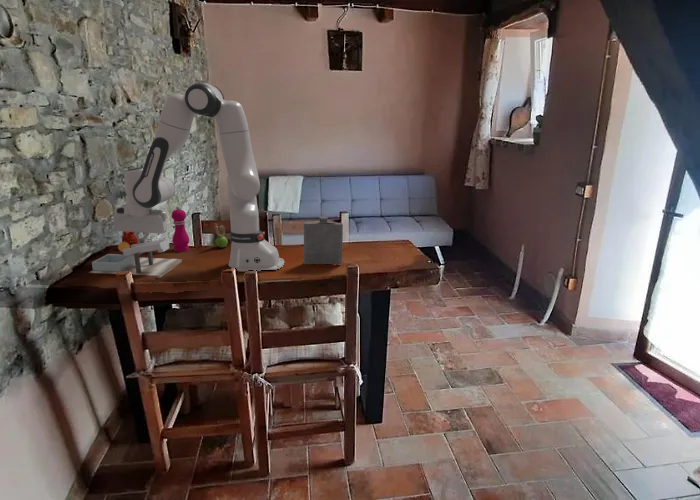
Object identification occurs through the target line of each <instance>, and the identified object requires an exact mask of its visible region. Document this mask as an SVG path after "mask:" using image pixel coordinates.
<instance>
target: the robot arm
mask: <svg viewBox="0 0 700 500" xmlns="http://www.w3.org/2000/svg"><path fill="white" fill-rule="evenodd" d="M197 115H199V116H202V117H203V116H204V117H208V118H214V120H215V122H216V124H217V125H216V126H217V129H218V130H217V131H218V134H219V141H220V147H221V151H222V155H223V160H224V163H225V167H226V172H227V176H226V185H227V195H228V196H227V197H228V206H229V221H230V232H229V241H230V256H229V261H228V266H229V267H230V268H232V269H234V268H236V269H237V270H236V269H235V270H236V271H237V272H249V271H248V270H257V271H256V272H262V271H261V270H276V271H278V270H277V269H279V270H280V268H281V267H282V268H283V267H284V266H283V265H285V264H284V263H285V259H284V258H281V257H280V255H279V251H278V249H277V248H276V247H277V246H276V247H275V246H274V245H272V243H270V242H268V241H267V240H266V239H265V231H262V230H261V229H260V217H259V216H260V215H259V208H258V206H259V205H258V199H257V196H258V194H259V192H260V189H261V182H260V176H259V173H258V167H257V163H256V160H255V155H254V151H253V147H252V140H251V135H250V134H251V133H250V128H249V123H248V120H247V117H246V113H245V111H244V108H243V105H242V104H241V103H240V102H238V101H236V100H226V99H225V96H224V94H223V92H222V90H220V89H219V88H218V86H215V85H212V84H210V83H206V82H201V83H200V82H197V83H194V84H191V85H190V86H189V87H188V88H186V91H185V93H184V94H180V93H172V94H170V95H168V96H167V98H166V100H165V101H164V105H163V106H162V109H161V113H160V116H159V121H158V123H157V124H158V125H157V128H156V131H155V134H154V137H153V140H152V143H151V145H150V148H149V150H148V153H147V154H146V155H147V156H146V159H145V162H144V164H143V165H144V166H142V167H135V168H134V167H133V168H129V169H127V170H126V171H125V172H124V191H125V193H126V194H125V195H126V200H125V202H126V204H123V205H120V206H117V207H116V208H114V210H113V211H114V217H113V228H114V230H115V231H117V232H124V231H126V232H134V235H135V236H136V238H137V239H138V243H145V242H147V241H148V236H149V235H150V234H162V235H163V234H165V233H167V231H168V224H167V214H166V212H165V211H163V210H161V209H152V208H154V207H156V206H157V205H159V204H162V203H164V202H168V201H169V200H171V199H172V198H173V197H174V195H175V192H176V189H175V185H174V183H173V181H172V180H171V179H170V178H168V177H165V176H162V174H163V171H164V167H165V165H166V163H167V161H168V160H169V158H171V156H172V155H173V154H174V153H176V152H177V151H179V150H181V149H182V148H183V147H184V146H186V143H187V141H188V139H189V136H190V134H191V129H192V124H193V121H194V118H195V117H196V116H197ZM141 233H142V234H143V237H141V235H140V234H141ZM282 268H281V269H282Z"/></svg>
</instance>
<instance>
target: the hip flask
mask: <svg viewBox="0 0 700 500" xmlns="http://www.w3.org/2000/svg"><path fill="white" fill-rule="evenodd" d="M318 219H319V221H305V222H303V264H304V265H305V264H336V265H338V264H342V265H343V239H344V238H343V234H344V229H343V228H344V225H343V224H344V223H343V222H336V221H330V220H329V217H328V216H324V215H323V216H318ZM336 265H335V266H336Z"/></svg>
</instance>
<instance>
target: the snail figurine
mask: <svg viewBox="0 0 700 500" xmlns="http://www.w3.org/2000/svg"><path fill="white" fill-rule="evenodd" d="M214 229H215V234H216V235H217V237H216V239H215V245H216V246H217V247H218V248H221V249H222V248H223V249H224V248H225V247H227V246H228V244H229V241H228V238H227V237H225V234H226V227H225V226H224V225H221V224H220V225H219V226H218V224H217V223H214Z"/></svg>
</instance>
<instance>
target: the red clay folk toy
mask: <svg viewBox="0 0 700 500" xmlns="http://www.w3.org/2000/svg"><path fill="white" fill-rule="evenodd" d="M121 242H127V243H128V244H129V245H130V248H131V245H133V244H139V243H138V239H137V238H136V236H135V235H134V232H126V231H123V235H122V236H121Z"/></svg>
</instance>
